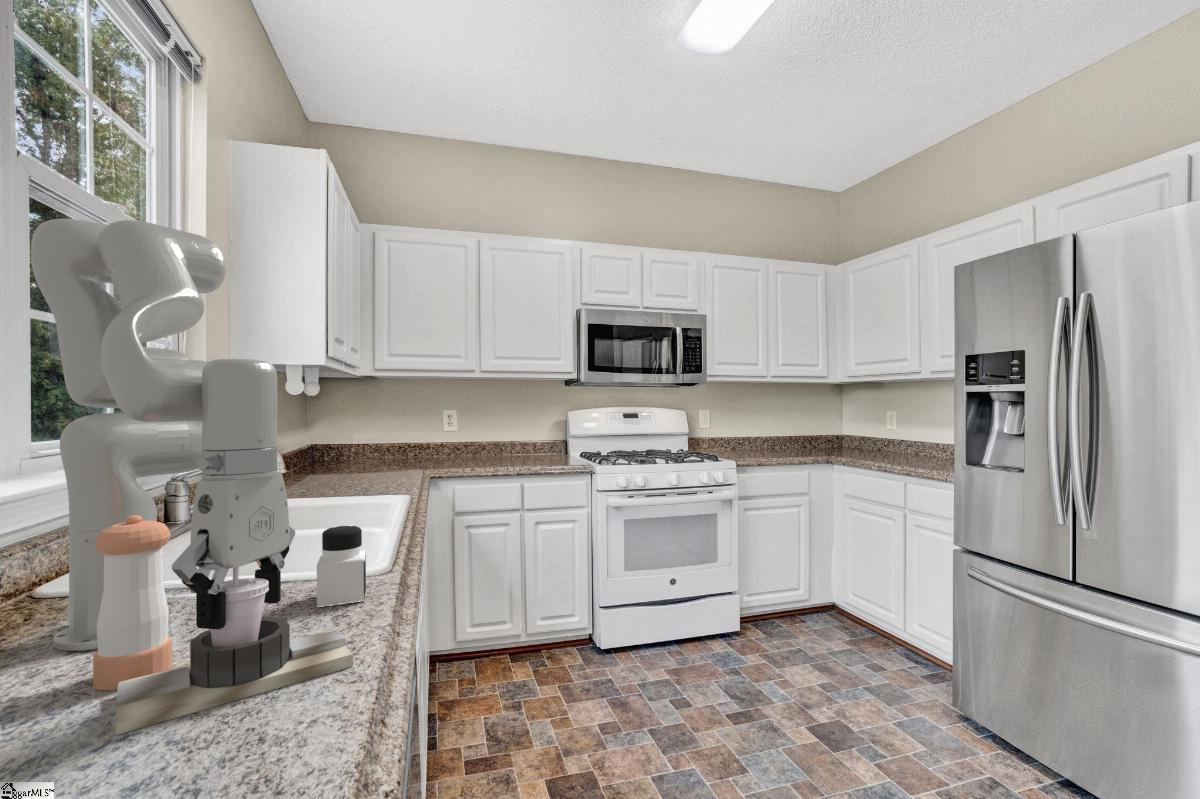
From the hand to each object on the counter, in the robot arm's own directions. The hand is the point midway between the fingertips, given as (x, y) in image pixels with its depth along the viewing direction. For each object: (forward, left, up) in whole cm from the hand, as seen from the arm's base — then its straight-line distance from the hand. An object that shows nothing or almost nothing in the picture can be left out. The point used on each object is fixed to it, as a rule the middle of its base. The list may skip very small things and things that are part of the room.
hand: (241, 613), depth 65 cm
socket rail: (0, 0, -8) cm, 8 cm away
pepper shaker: (-14, -3, -8) cm, 16 cm away
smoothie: (0, -1, -6) cm, 7 cm away
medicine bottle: (-11, +26, -8) cm, 29 cm away
